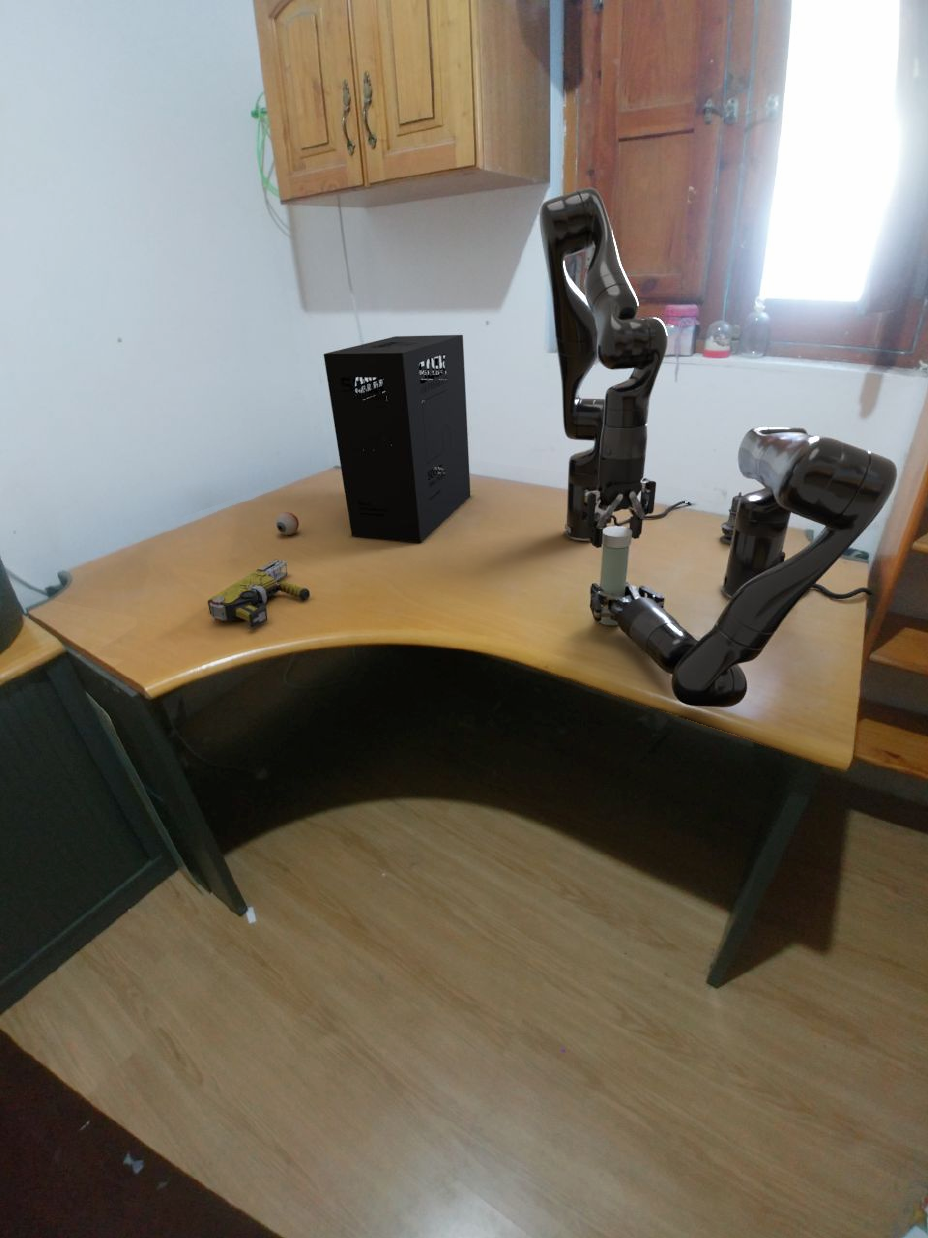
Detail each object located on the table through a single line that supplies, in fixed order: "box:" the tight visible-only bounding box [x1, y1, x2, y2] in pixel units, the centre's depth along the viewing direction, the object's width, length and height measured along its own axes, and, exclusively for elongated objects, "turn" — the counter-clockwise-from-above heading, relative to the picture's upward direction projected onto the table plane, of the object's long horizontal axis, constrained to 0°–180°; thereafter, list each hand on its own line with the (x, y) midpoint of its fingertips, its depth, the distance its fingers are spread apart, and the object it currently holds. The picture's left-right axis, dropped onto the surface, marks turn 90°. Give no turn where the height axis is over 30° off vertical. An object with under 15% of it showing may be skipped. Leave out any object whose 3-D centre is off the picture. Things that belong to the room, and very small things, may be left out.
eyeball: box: [275, 511, 300, 536], centre depth 163 cm, size 6×6×6 cm
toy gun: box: [207, 558, 311, 629], centre depth 130 cm, size 5×24×15 cm
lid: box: [602, 525, 633, 548], centre depth 109 cm, size 5×5×2 cm
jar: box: [598, 544, 630, 626], centre depth 113 cm, size 5×5×18 cm
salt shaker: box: [719, 491, 743, 545], centre depth 143 cm, size 6×6×12 cm
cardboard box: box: [323, 334, 471, 544], centre depth 162 cm, size 38×20×45 cm, turn 159°
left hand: (615, 541), depth 109 cm, fingers open, 7 cm apart
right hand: (605, 585), depth 116 cm, fingers closed on jar, 4 cm apart
